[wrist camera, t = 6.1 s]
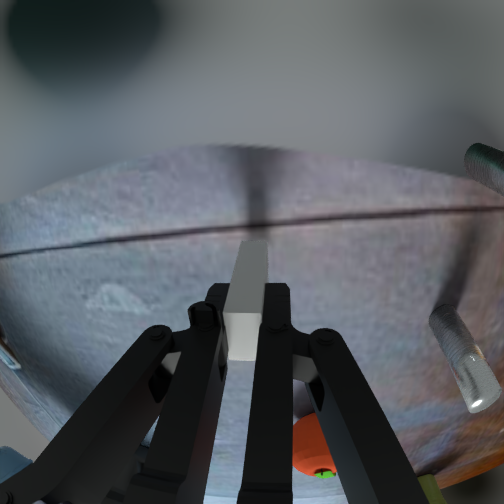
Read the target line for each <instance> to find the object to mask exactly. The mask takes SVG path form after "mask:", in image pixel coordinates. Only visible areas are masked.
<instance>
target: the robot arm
mask: <svg viewBox="0 0 504 504" xmlns="http://www.w3.org/2000/svg"><path fill="white" fill-rule="evenodd" d="M188 315H189V320H190V325H191V326H190V328H189V329H186V330H183V331H177V332H172V330H171V329H170V328H169V327H167V326H165V325H154V326H151V327H149V328H147V329H146V330H145V331H144V332H143V333H142V334H141V335H140V337H139V338H138V339H137V340H136V341H135V342H134V343H133V345H132V346H131V347H130V348H129V349H128V350H127V351H126V353H125V354H124V355H123V356H122V357H121V358H120V360H119V361H118V362H117V363H116V364H115V365H114V366H113V368H112V369H111V370H110V371H109V372H108V374H107V375H106V376H105V377H104V378H103V379H102V381H101V382H100V383H99V384H98V385H97V386H96V388H95V389H94V390H93V391H92V392H91V394H90V395H89V396H88V397H87V398H86V400H85V401H84V402H83V403H82V404H81V405H80V407H79V408H78V409H77V410H76V411H75V413H74V414H73V415H72V416H71V418H70V419H69V420H68V421H67V422H66V424H65V425H64V426H63V427H62V428H61V430H60V431H59V432H58V433H57V435H56V436H55V437H54V438H53V440H52V441H51V442H50V443H49V445H48V446H47V447H46V448H45V450H44V451H43V452H42V453H41V455H40V456H39V457H38V458H37V459H36V461H35V462H34V463H33V461H32V460H31V459H28V458H26V457H24V456H23V455H21V454H20V453H18V452H17V451H16V450H14V449H12V448H11V447H8V446H3V447H0V504H203V500H204V495H205V489H206V484H207V478H208V473H209V467H210V462H211V456H212V451H213V445H214V440H215V435H216V429H217V424H218V418H219V413H220V407H221V402H222V396H223V391H224V386H225V380H226V375H227V369H228V368H227V356H229V360H244V361H256V362H255V371H254V381H253V390H252V399H251V408H250V417H249V426H248V434H247V443H246V451H245V460H244V468H243V476H242V484H241V488H240V490H239V493H238V498H237V504H293V492H292V465H293V379H296V380H299V381H303V382H305V386H306V389H307V391H308V394H309V397H310V400H311V402H312V405H313V408H314V410H315V413H316V416H317V418H318V421H319V424H320V427H321V429H322V432H323V435H324V437H325V440H326V443H327V446H328V448H329V451H330V454H331V456H332V459H333V462H334V465H335V467H336V470H337V473H338V476H339V478H340V481H341V484H342V486H343V489H344V492H345V495H346V497H347V500H348V503H349V504H430V503H429V501H428V499H427V497H426V495H425V493H424V491H423V489H422V487H421V485H420V483H419V481H418V479H417V477H416V474H415V472H414V470H413V468H412V466H411V464H410V463H409V461H408V459H407V457H406V455H405V453H404V451H403V449H402V447H401V445H400V443H399V441H398V439H397V437H396V435H395V433H394V431H393V429H392V428H391V426H390V424H389V422H388V420H387V418H386V416H385V414H384V412H383V410H382V409H381V407H380V405H379V403H378V401H377V399H376V397H375V396H374V394H373V392H372V390H371V388H370V386H369V385H368V383H367V381H366V379H365V377H364V375H363V374H362V372H361V370H360V368H359V366H358V365H357V363H356V361H355V359H354V357H353V356H352V354H351V352H350V350H349V348H348V347H347V345H346V343H345V341H344V340H343V338H342V336H341V335H340V334H339V333H338V332H337V331H335V330H333V329H328V328H320V329H317V330H315V331H313V332H312V333H311V334H306V333H302V332H300V331H298V330H296V329H295V328H294V327H293V325H292V324H291V307H290V288H289V287H288V286H287V284H286V283H268V241H241V244H240V248H239V252H238V256H237V260H236V263H235V267H234V271H233V275H232V279H231V283H215V284H214V285H212V286H211V287H210V288H209V290H208V293H207V296H206V299H205V301H200V302H197V303H194V304H193V305H191V306H190V307H189V308H188ZM159 415H160V416H159ZM158 416H159V419H158V422H157V425H156V428H155V431H154V434H153V437H152V440H151V443H150V446H149V449H148V448H146V447H143V446H141V445H140V444H141V442H142V441H143V439H144V438H145V436H146V435H147V433H148V432H149V430H150V428H151V427H152V425H153V424H154V422H155V421H156V419H157V418H158Z"/></svg>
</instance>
